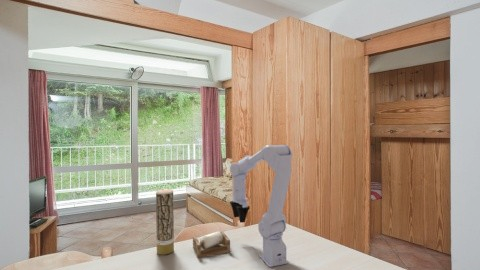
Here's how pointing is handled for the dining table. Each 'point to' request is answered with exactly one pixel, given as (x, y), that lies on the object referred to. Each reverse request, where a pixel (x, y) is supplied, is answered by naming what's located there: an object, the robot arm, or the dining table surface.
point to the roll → (211, 240)
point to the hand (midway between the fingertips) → (239, 219)
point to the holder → (213, 250)
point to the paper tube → (164, 221)
